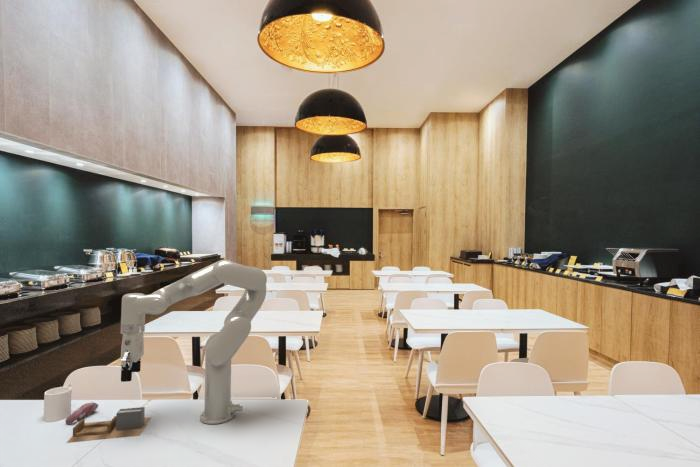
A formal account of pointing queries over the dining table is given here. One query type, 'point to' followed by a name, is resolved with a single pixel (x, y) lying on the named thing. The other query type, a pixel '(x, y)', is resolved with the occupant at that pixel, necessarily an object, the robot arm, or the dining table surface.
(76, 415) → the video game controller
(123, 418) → the dark grey box
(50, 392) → the cup
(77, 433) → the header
